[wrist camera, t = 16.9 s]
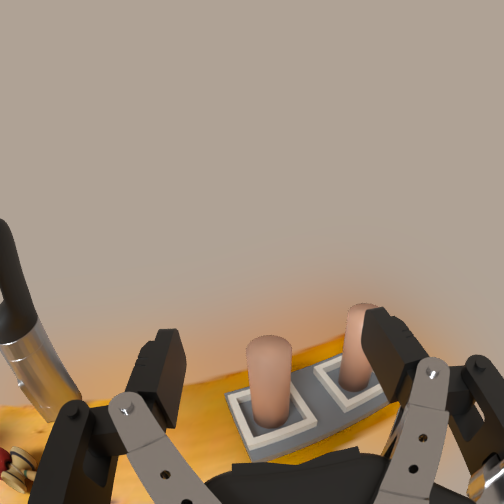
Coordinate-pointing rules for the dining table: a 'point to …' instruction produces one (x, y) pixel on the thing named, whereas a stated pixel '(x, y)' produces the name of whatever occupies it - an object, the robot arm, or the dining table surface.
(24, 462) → the kendama
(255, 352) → the post
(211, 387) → the dining table surface
